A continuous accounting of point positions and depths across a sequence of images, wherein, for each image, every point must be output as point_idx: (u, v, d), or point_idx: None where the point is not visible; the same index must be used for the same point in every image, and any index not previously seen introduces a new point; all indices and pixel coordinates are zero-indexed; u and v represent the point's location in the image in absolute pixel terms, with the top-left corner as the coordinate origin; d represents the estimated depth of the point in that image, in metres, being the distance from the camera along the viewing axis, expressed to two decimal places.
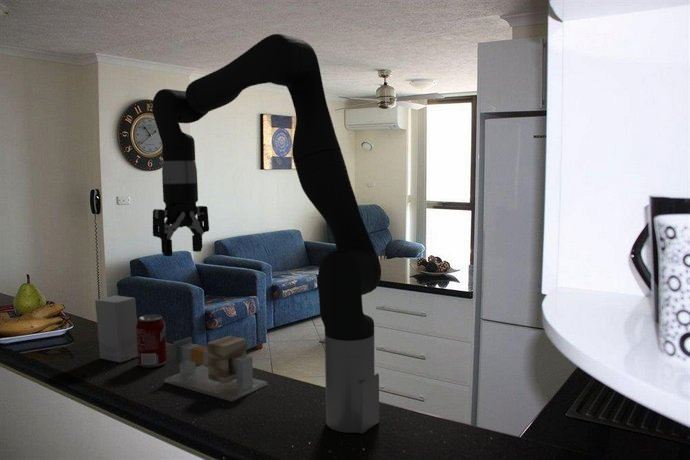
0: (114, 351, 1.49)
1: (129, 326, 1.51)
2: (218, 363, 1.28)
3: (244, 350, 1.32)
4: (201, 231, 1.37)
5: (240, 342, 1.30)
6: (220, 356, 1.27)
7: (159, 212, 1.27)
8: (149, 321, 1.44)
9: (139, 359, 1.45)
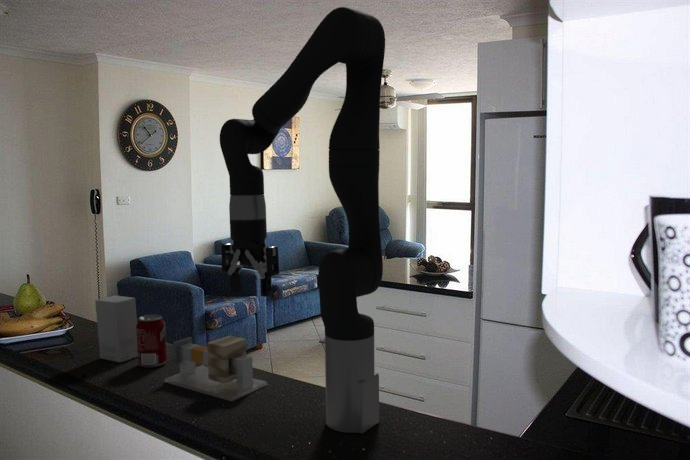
0: (114, 351, 1.49)
1: (129, 326, 1.51)
2: (218, 363, 1.28)
3: (244, 350, 1.32)
4: None
5: (240, 342, 1.30)
6: (220, 356, 1.27)
7: (276, 249, 1.21)
8: (149, 321, 1.44)
9: (139, 359, 1.45)
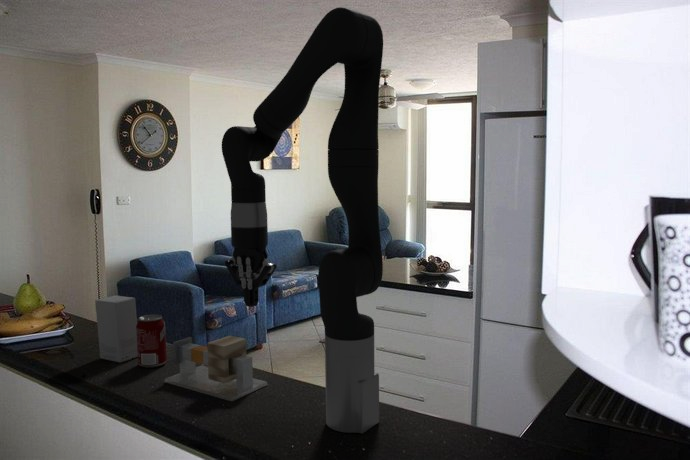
0: (114, 351, 1.49)
1: (129, 326, 1.51)
2: (218, 363, 1.28)
3: (244, 350, 1.32)
4: None
5: (240, 342, 1.30)
6: (220, 356, 1.27)
7: (275, 268, 1.22)
8: (149, 321, 1.44)
9: (139, 359, 1.45)
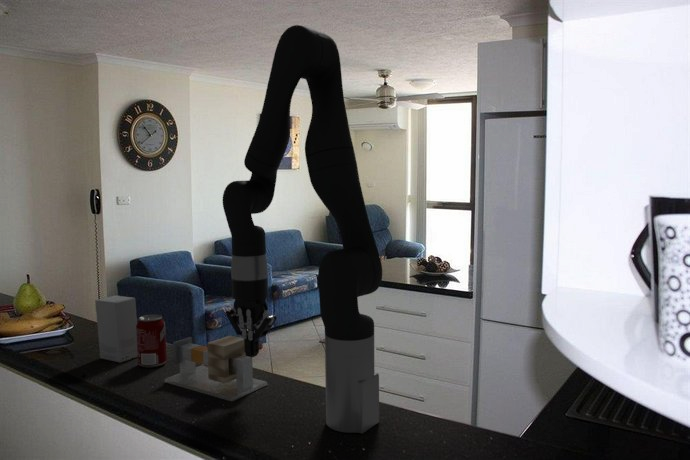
0: (114, 351, 1.49)
1: (129, 326, 1.51)
2: (218, 363, 1.28)
3: (244, 350, 1.32)
4: None
5: (240, 342, 1.30)
6: (220, 356, 1.27)
7: (275, 320, 1.23)
8: (149, 321, 1.44)
9: (139, 359, 1.45)
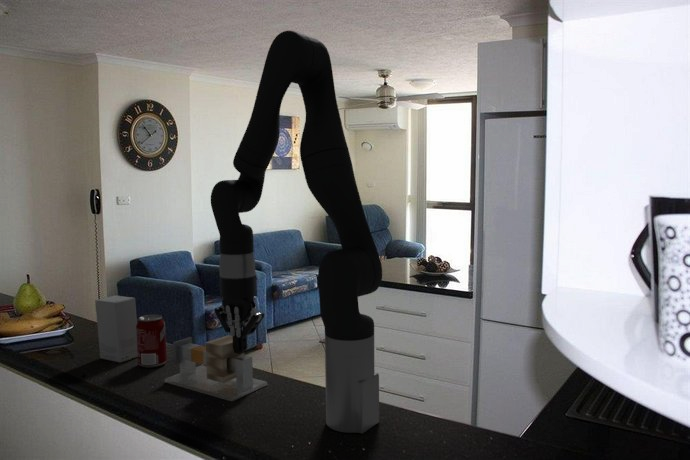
0: (114, 351, 1.49)
1: (129, 326, 1.51)
2: (217, 362, 1.28)
3: None
4: None
5: None
6: (218, 356, 1.27)
7: (262, 317, 1.25)
8: (149, 321, 1.44)
9: (139, 359, 1.45)
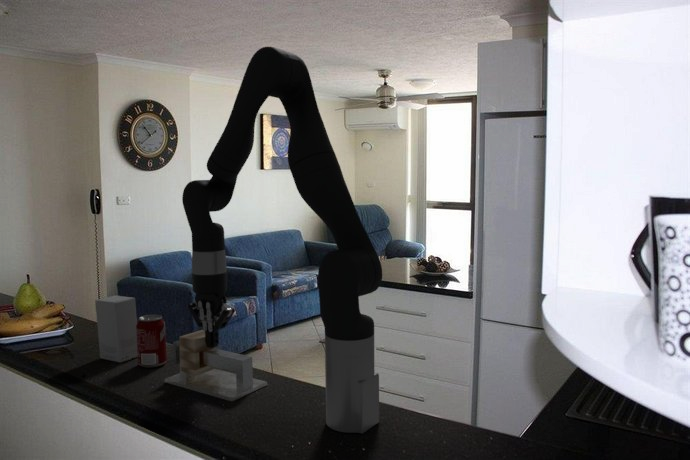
0: (114, 351, 1.49)
1: (129, 326, 1.51)
2: (190, 356, 1.33)
3: None
4: None
5: None
6: (191, 349, 1.32)
7: (233, 312, 1.30)
8: (149, 321, 1.44)
9: (139, 359, 1.45)
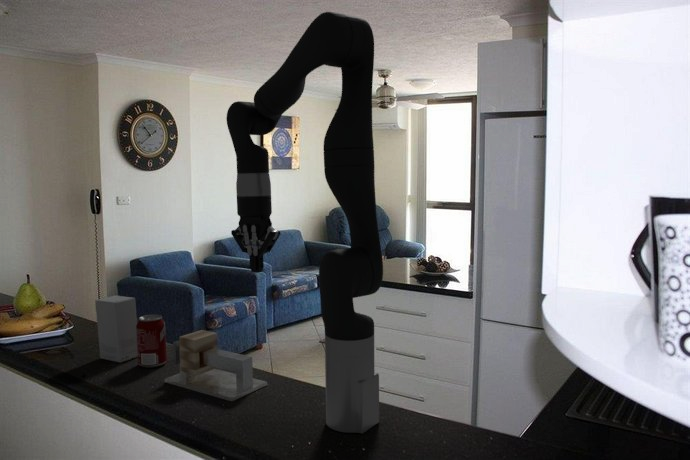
0: (114, 351, 1.49)
1: (129, 326, 1.51)
2: (190, 356, 1.33)
3: (215, 344, 1.37)
4: None
5: (211, 336, 1.35)
6: (191, 349, 1.32)
7: (279, 235, 1.29)
8: (149, 321, 1.44)
9: (139, 359, 1.45)
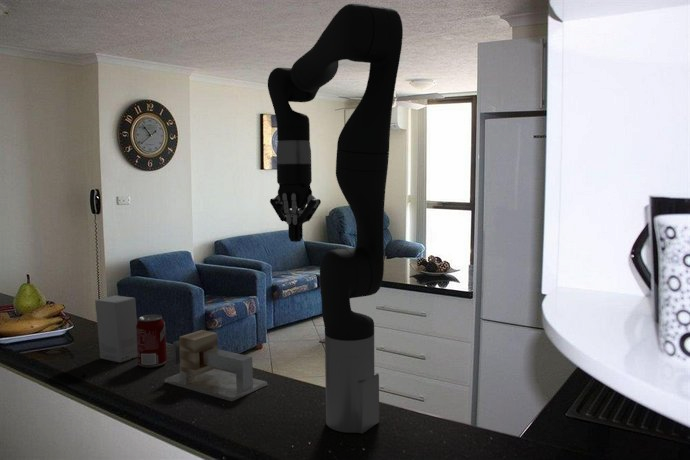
0: (114, 351, 1.49)
1: (129, 326, 1.51)
2: (190, 356, 1.33)
3: (215, 344, 1.37)
4: None
5: (211, 336, 1.35)
6: (191, 349, 1.32)
7: (319, 203, 1.28)
8: (149, 321, 1.44)
9: (139, 359, 1.45)
